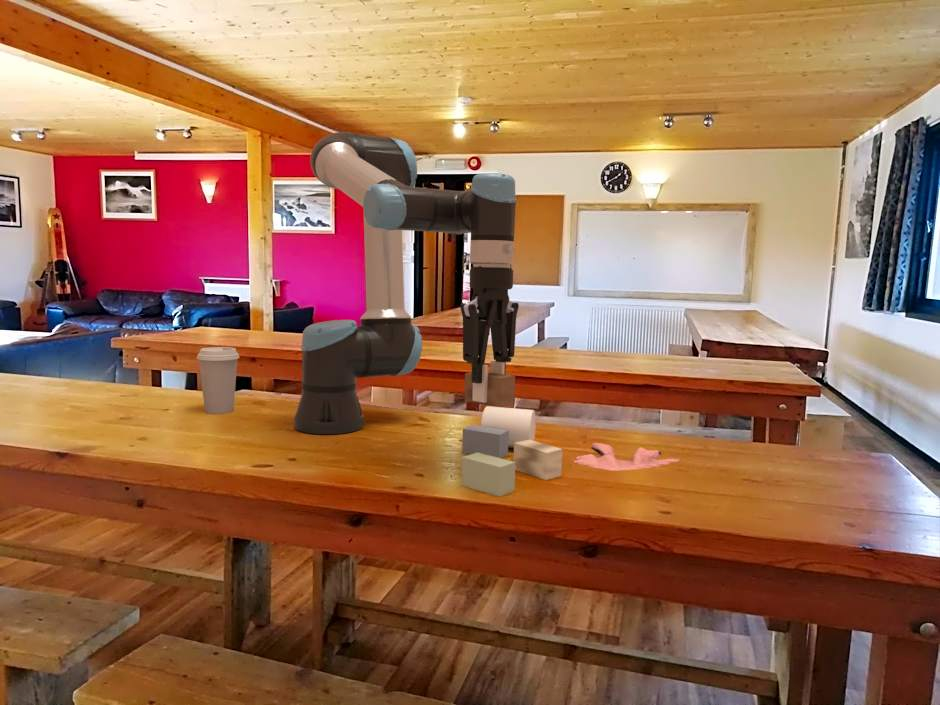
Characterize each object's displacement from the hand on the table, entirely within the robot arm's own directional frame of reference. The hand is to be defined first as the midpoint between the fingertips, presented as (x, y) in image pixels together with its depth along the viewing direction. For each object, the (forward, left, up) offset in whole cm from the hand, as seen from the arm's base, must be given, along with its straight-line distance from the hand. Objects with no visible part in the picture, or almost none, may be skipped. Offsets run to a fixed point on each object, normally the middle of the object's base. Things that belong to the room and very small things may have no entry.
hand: (488, 399), depth 120 cm
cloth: (+14, +27, -14) cm, 34 cm away
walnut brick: (0, 0, -1) cm, 1 cm away
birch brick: (+7, +6, -13) cm, 16 cm away
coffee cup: (-75, -8, -13) cm, 77 cm away
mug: (-8, +18, -13) cm, 24 cm away
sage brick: (+6, -7, -13) cm, 16 cm away
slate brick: (-7, +9, -13) cm, 18 cm away
